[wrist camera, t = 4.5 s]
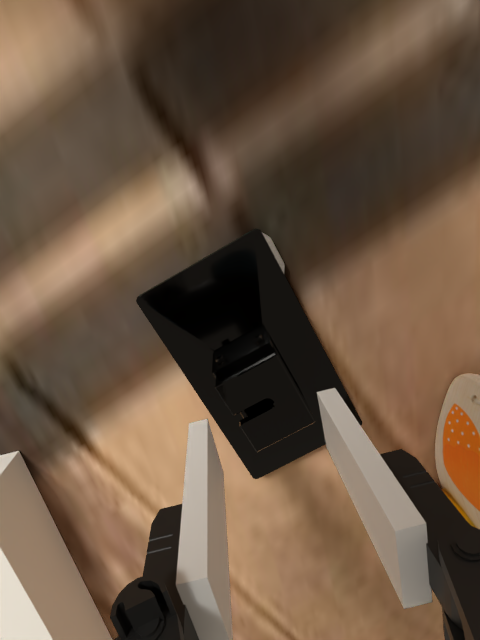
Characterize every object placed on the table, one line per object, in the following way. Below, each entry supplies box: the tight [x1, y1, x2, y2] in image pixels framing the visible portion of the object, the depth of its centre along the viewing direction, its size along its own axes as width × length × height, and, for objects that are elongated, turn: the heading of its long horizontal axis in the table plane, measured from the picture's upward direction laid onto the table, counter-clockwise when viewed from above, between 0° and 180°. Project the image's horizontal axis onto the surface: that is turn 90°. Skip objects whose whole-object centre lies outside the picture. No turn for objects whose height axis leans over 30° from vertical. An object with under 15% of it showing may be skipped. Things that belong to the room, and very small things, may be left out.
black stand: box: [136, 229, 362, 479], centre depth 18 cm, size 12×7×5 cm, turn 29°
